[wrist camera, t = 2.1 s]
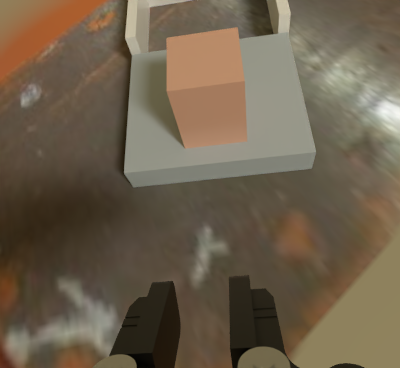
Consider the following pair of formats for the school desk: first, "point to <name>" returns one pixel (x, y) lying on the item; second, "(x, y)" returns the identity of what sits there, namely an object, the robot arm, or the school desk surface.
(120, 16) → the school desk surface
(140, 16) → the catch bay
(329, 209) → the school desk surface
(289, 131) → the far plate
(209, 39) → the tile block
